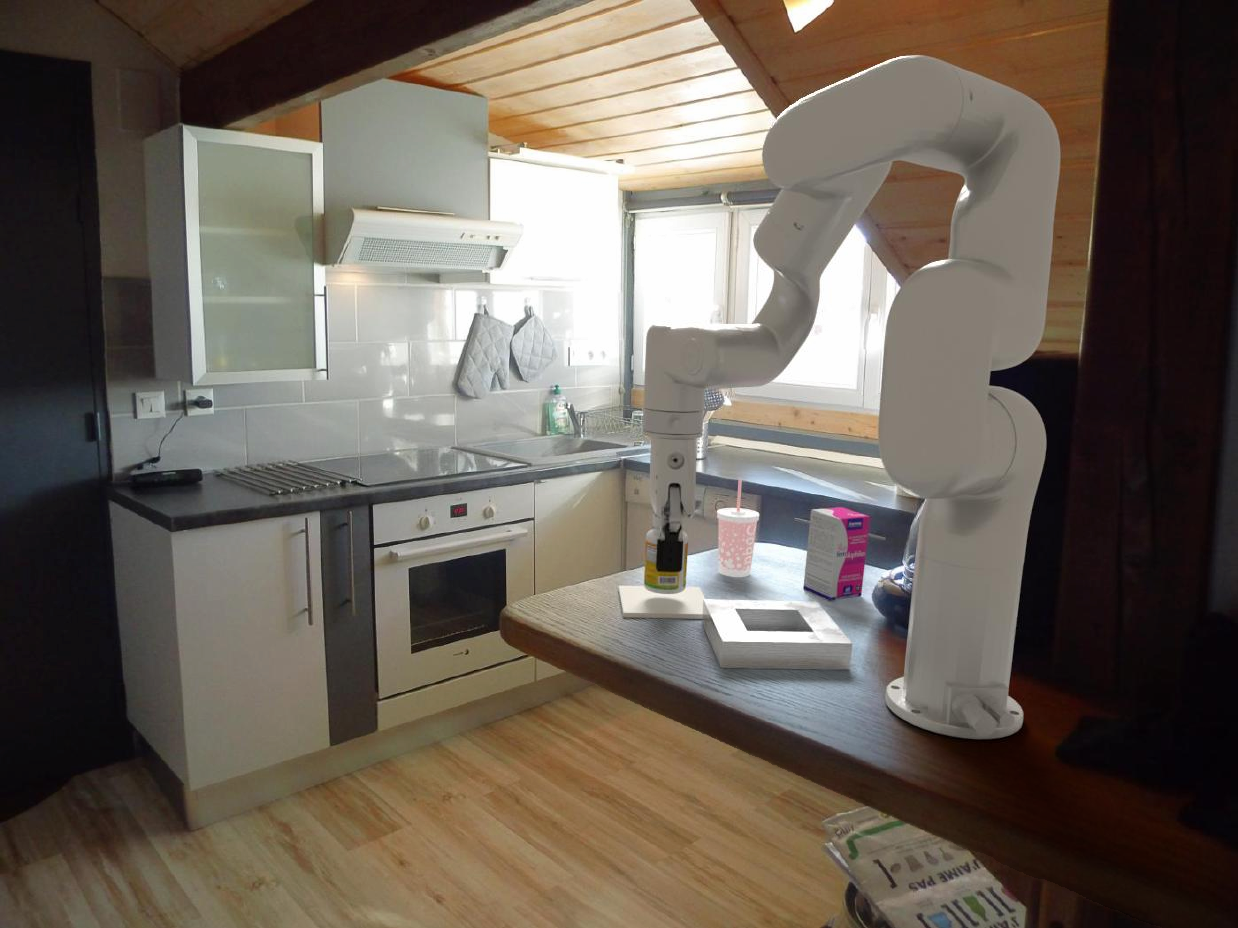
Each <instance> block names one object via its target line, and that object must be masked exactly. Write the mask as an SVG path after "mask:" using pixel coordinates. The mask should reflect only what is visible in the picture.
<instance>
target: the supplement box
mask: <svg viewBox="0 0 1238 928" xmlns="http://www.w3.org/2000/svg"><path fill="white" fill-rule="evenodd" d="M870 518H871V517H870V515H867V514H864V513H861V512H857V511H854V510H851V509H848V508H846V507H844V506H838V507H826V508H817V509H815V508H813V509H811V511H810V519H809V530H808V537H807V538H808V539H807V548H806V557H805V567H804V579H803V587H802V589H803V591H806V592H807V593H811V594H813V595H816V596H818V597H820V598H821V599H823V600H827V601H830V602H832V601H836V600H842V599H849V598H859V597H862V593H863V586H864V585H863V583H864V575H865V565H866V557H867V556H866V555H867V550H868V549H867V547H868V538H869V529H870V521H871V519H870Z"/></svg>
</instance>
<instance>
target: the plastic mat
mask: <svg viewBox="0 0 1238 928" xmlns="http://www.w3.org/2000/svg"><path fill="white" fill-rule="evenodd" d="M618 594H619V601H620V606H621V611H622V616H623V618H642V619H650V618H651V619H686V620H687V619H688V620H689V619H694V620H697V619H698V620H699V619H701V620H702V614H703V599H706V598H705V596H704V593H703V591H702V589H701V587H700V586H686V588H685V590H684V591H682V592H680V593H676V594H660V593H654V592H651V591H648V590H647V589H646V588H645V587H644V585H618Z"/></svg>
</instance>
